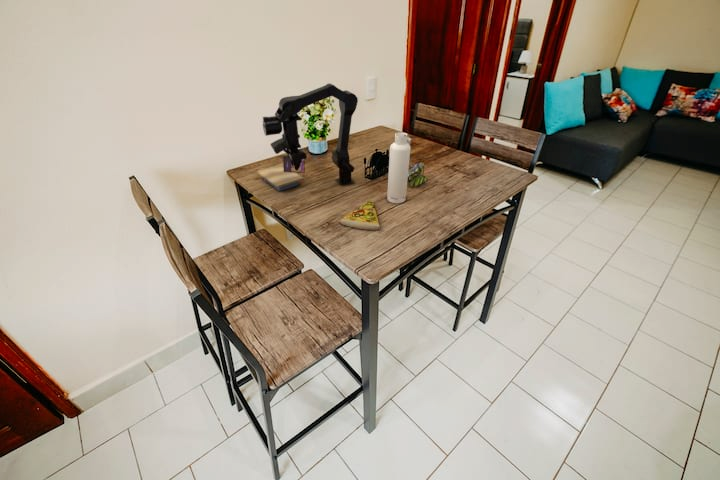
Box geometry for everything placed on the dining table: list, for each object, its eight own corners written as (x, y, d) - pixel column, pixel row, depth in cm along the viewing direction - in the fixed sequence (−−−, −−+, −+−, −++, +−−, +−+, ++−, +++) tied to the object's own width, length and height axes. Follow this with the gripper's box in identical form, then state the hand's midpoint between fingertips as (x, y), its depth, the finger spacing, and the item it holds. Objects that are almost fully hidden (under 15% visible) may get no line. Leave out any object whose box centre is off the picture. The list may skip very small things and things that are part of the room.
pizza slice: (338, 226, 128) (338, 219, 126) (354, 200, 144) (354, 194, 142) (378, 232, 124) (378, 225, 123) (389, 205, 141) (390, 199, 139)
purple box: (282, 155, 140) (303, 156, 140) (285, 154, 145) (306, 155, 145) (283, 172, 143) (304, 173, 142) (286, 170, 148) (306, 171, 147)
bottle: (383, 195, 147) (387, 132, 131) (400, 192, 150) (405, 129, 133) (391, 204, 141) (396, 139, 125) (409, 201, 143) (415, 136, 127)
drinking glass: (411, 158, 181) (413, 140, 175) (400, 160, 179) (401, 141, 173) (405, 153, 186) (407, 136, 180) (394, 155, 184) (396, 137, 178)
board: (303, 179, 153) (303, 177, 153) (278, 187, 147) (277, 185, 146) (281, 165, 166) (281, 163, 165) (257, 172, 159) (256, 170, 158)
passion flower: (407, 190, 163) (407, 165, 163) (429, 189, 159) (430, 164, 159) (402, 186, 152) (402, 160, 152) (426, 185, 149) (426, 158, 149)
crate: (298, 184, 156) (298, 178, 154) (279, 191, 150) (278, 185, 149) (281, 173, 165) (280, 167, 164) (263, 179, 160) (262, 173, 158)
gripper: (265, 127, 139) (271, 163, 148) (276, 142, 125) (282, 180, 134) (291, 124, 143) (295, 159, 152) (305, 138, 129) (308, 175, 138)
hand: (295, 168), depth 144 cm, fingers closed on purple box, 4 cm apart
